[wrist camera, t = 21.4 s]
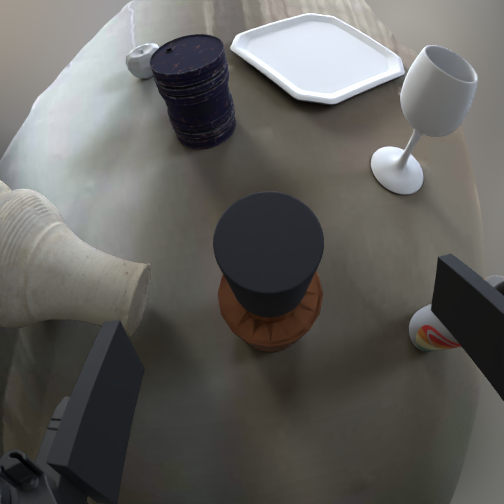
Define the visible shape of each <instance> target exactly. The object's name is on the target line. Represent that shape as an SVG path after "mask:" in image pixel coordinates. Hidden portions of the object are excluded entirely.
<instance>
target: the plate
mask: <svg viewBox="0 0 504 504" xmlns="http://www.w3.org/2000/svg"><path fill="white" fill-rule="evenodd" d="M230 50H231V51H232V52H233V53H235V54H236V55H238V56H239V57H240V58H242V59H243V60H245V61H246V62H247V63H249V64H250V65H251V66H253V67H254V68H255V69H257V70H258V71H259V72H261V73H262V74H263V75H265V76H266V77H267V78H269V79H270V80H271V81H272V82H274V83H275V84H276V85H278V86H279V87H280V88H281V89H283V90H284V91H285V92H286V93H287V94H289V95H290V96H291V97H292V98H294V99H296V100H298V101H304V102H311V103H318V104H324V105H337V104H339V103H341V102H343V101H345V100H347V99H350V98H352V97H354V96H356V95H359V94H361V93H363V92H365V91H368V90H370V89H372V88H375V87H377V86H379V85H382V84H384V83H386V82H389V81H391V80H394V79H396V78H399V77H401V76H403V75H404V74H405V71H404V67H403V64H402V60H401V58H400V57H399V56H397V55H396V54H395V53H393V52H392V51H390V50H389V49H387V48H386V47H384V46H383V45H381V44H380V43H378V42H377V41H375V40H373V39H372V38H370V37H369V36H367V35H365V34H364V33H362V32H360V31H359V30H357V29H355V28H354V27H352V26H350V25H348V24H346V23H345V22H343V21H341V20H339V19H337V18H335V17H333V16H327V15H320V14H312V13H308V14H303V15H299V16H295V17H292V18H288V19H284V20H281V21H277V22H274V23H270V24H267V25H264V26H261V27H258V28H254V29H251V30H248V31H246V32H243V33H240V34H238V35H236V37H235V39H234V41H233V43H232V45H231V47H230Z"/></svg>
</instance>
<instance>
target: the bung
mask: <svg viewBox="0 0 504 504" xmlns="http://www.w3.org/2000/svg"><path fill="white" fill-rule="evenodd" d="M213 248H214V254H215V258H216V261H217V263H218V265H219V267H220V269H221V271H222V273H223V275H224V277H225V278H226V280H227V282H228V284H229V286H230V288H231V290H232V292H233V293H234V295H235V297H236V299H237V301H238V302H239V303H240V304H241V305H242V307H243V308H245V309H246V310H247V311H249V312H251V313H252V314H255V315H257V316H261V317H278V316H282V315H284V314H287V313H288V312H290V311H292V310H293V309H294V308H296V307H297V306H298V305H299V303H300V302H301V301H302V299H303V297H304V295H305V293H306V291H307V289H308V287H309V285H310V283H311V281H312V278H313V276H314V274H315V272H316V270H317V268H318V265H319V263H320V261H321V258H322V254H323V249H324V237H323V232H322V228H321V225H320V223H319V221H318V219H317V217H316V216H315V214H314V213H313V212H312V211H311V210H310V208H309V207H308V206H306V205H305V204H304V203H303V202H301V201H300V200H298V199H296V198H294V197H292V196H290V195H287V194H284V193H279V192H258V193H254V194H250V195H248V196H245V197H243V198H241V199H239V200H238V201H236V202H235V203H233V204H232V205H231V206H230V207H229V208H228V209H227V210H226V211H225V212H224V213H223V215H222V216H221V218H220V220H219V222H218V224H217V226H216V229H215V233H214V238H213Z"/></svg>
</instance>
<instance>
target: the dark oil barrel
mask: <svg viewBox="0 0 504 504" xmlns="http://www.w3.org/2000/svg"><path fill="white" fill-rule="evenodd" d="M149 64H150V67H151V70H152V72H153V75H154V80H155V83H156V85H157V87H158V91H159V93H160V95H161V96H162V98H163V99H164V100H165V102H166V105H167V108H168V116H169V118H170V122H171V124H172V127H173V129H174V131H175V132H176V135H177V138H178V140H179V141H180V142H181V143H182V144H183V145H184V146H186V147H189V148H192V149H208V148H212V147H215V146H217V145H219V144H221V143H223V142H225V141H226V140H227V139H228V138H229V137H230V136H231V135H232V133H233V132H234V129H235V125H236V122H235V117H234V114H235V110H234V104H233V99H232V96H231V93H230V92H229V87H228V80H229V71H228V64H227V59H226V57H225V52H224V45H223V42H222V41H221V40H220V39H219V38H217V37H215V36H212V35H205V34H195V35H188V36H183V37H180V38H177V39H174V40H172V41H169V42H167V43H166V44H164V45H162V46H161V47H160V48H158V49H157V50H156V51H155V52H154V53H153V54H152V56H151V58H150V62H149Z"/></svg>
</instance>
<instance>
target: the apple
mask: <svg viewBox="0 0 504 504" xmlns="http://www.w3.org/2000/svg"><path fill="white" fill-rule="evenodd" d="M158 48H159V47H158V46H157V44H143V45H141V46H139V47H136V48H134V49H133V50H132V51H131V52H130V53H129V54H128V55H127V56H126V65H127V67H128V70H129V71H130V72H131V73H132V74H133V75H134V76H136V77H138V78H150V77H152V76H154V75H153V72H152V70H151V67H150V64H149V62H150V58H151V56H152V54H153V53H154V52H155V51H156V50H157V49H158Z"/></svg>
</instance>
